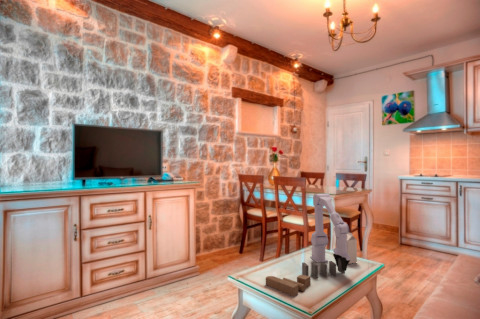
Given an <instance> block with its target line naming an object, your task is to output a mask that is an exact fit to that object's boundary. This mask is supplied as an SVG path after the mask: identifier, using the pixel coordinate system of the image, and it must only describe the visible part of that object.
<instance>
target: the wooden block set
mask: <svg viewBox="0 0 480 319" xmlns="http://www.w3.org/2000/svg"><path fill="white" fill-rule="evenodd" d="M311 276H312V275H308V276H305V275H302V274H299V275H298V276H296V281H295V280H292V279H289V278H286V277H282V278H279V277H276V276H274V275H273V276H272V275H269V276H266V277H265V286H267V285H268V287H270V288H273V289H275V290H277V291H278V292H281V293H283V294H285V295H288V296H290V297H295V296H297V295H298V294H299V291H301V292H304V291H305V290H306V288H308V287H310V286H311V284H312V283H311V279H312V277H311Z"/></svg>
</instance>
